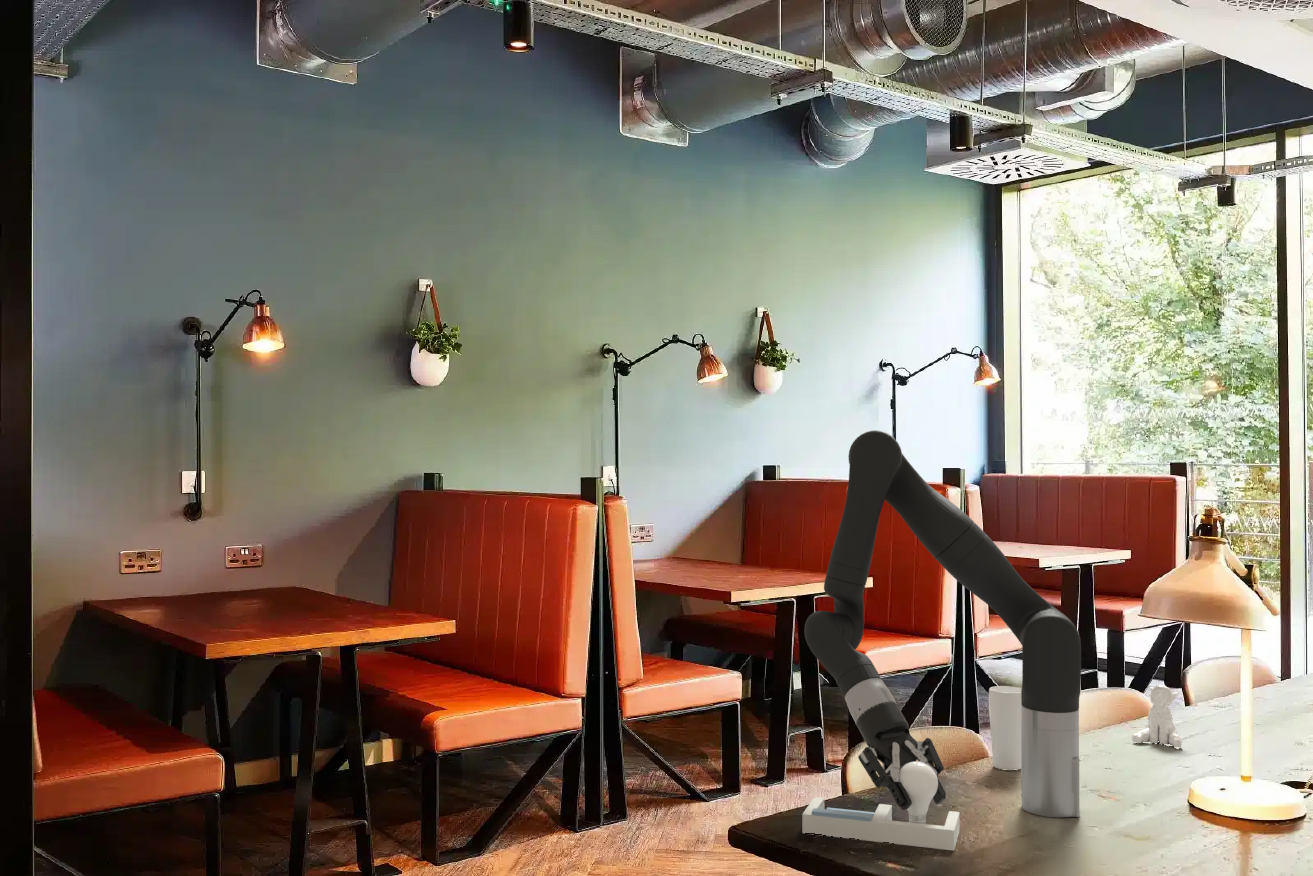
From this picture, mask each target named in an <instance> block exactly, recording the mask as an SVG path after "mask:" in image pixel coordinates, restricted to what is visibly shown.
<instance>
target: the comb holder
mask: <svg viewBox="0 0 1313 876" xmlns="http://www.w3.org/2000/svg"><path fill="white" fill-rule="evenodd" d="M960 814H961V813H960V812H959V811H950V810H949V811H948V814H947V817H946V820H945V823H944V825H936V824H928V823H926V824H919V823H910V822H909V821H901V820H900V821H897V820H893V805H892V804H884V803H879V804H878V806H877V808H876V810H875V812H873V811H866V810H864V811H863V810H858V809H857V810H855V809H845V808H837V807H836V808H835V807H829V806H827V807H826V808H825V798H824V797H818V796H815V797H814V798H813V799H812V800H811V802H810V803H808V806H807V807H806V808H805V810H804V811H803V812H802V819H801V821H802V822H801V823H802V824H801V825H802V827H801V828H802V829H801V830H802V831H801V832H802V833H801V834H805V833H815V834H822V835H821V836H823V835H826V836H825V837H831V836H833V838H840V837H842V839H849V838H855V839H854V840H857V839H859V841H868V842H876V843H883V842H889V843H888V844H892V843H894V845H900V846H901V845H902V846H910V847H911V846H912V847H921V848H928V849H937V850H945V851H946V850H947V851H955V848H956V846H957V841H958V838H959V834H960V823H961V822H960Z"/></svg>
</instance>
